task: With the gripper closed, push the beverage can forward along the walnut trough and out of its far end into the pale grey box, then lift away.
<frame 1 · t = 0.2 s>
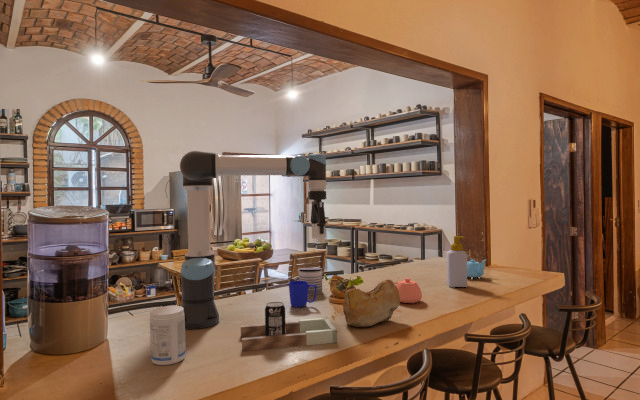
hand: (318, 240, 182), 28 cm above the bar counter, fingers open, 13 cm apart
sugar bowl: (405, 301, 186), on the bar counter
rough brown rock: (367, 321, 159), on the bar counter
beverage can: (275, 341, 139), on the bar counter
teapot: (472, 278, 234), on the bar counter
supplement tub: (168, 360, 124), on the bar counter
trough: (272, 340, 139), on the bar counter
soap bottle: (457, 286, 215), on the bar counter
mug: (303, 306, 181), on the bar counter
can: (310, 292, 206), on the bar counter
pale grey box: (317, 336, 142), on the bar counter
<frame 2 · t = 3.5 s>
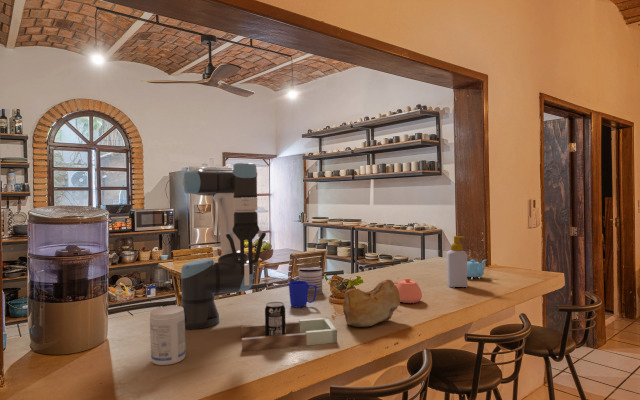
hand: (246, 284, 137), 19 cm above the bar counter, fingers closed
nothing on the bar counter moved.
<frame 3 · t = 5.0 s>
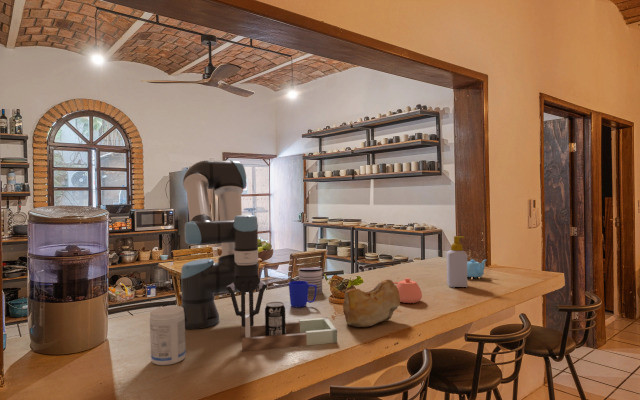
hand: (247, 336, 137), 2 cm above the bar counter, fingers closed
nothing on the bar counter moved.
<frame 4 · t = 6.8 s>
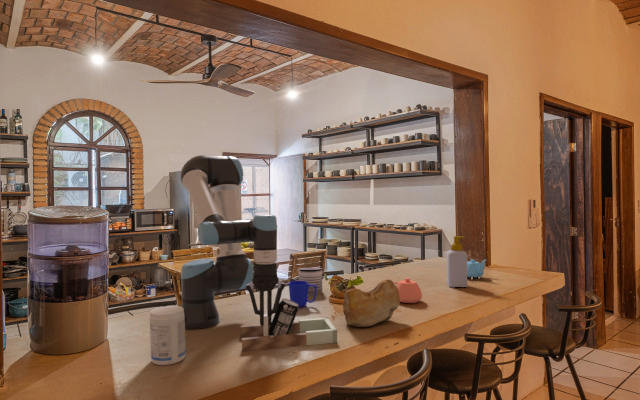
hand: (265, 335, 138), 2 cm above the bar counter, fingers closed
beverage can: (276, 337, 139), point 1 cm above the bar counter, touching gripper, hand
everything else where it was.
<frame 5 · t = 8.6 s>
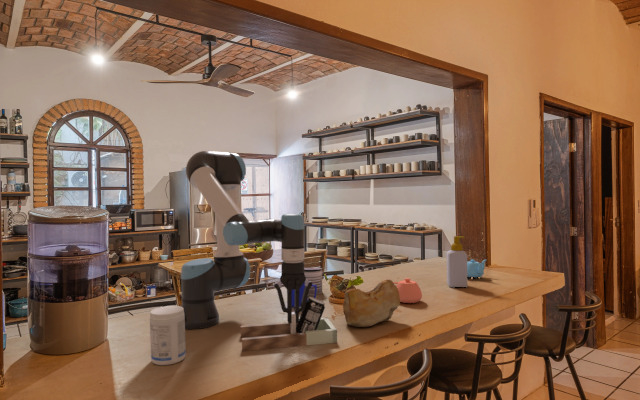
hand: (293, 332, 140), 2 cm above the bar counter, fingers closed
beverage can: (303, 335, 141), point 1 cm above the bar counter, touching gripper, hand
everything else where it was.
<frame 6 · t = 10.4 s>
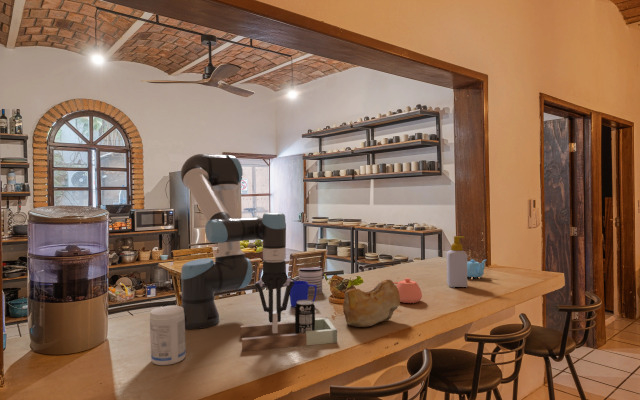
hand: (274, 331, 139), 3 cm above the bar counter, fingers closed
beverage can: (305, 338, 141), on the bar counter
everything else where it was.
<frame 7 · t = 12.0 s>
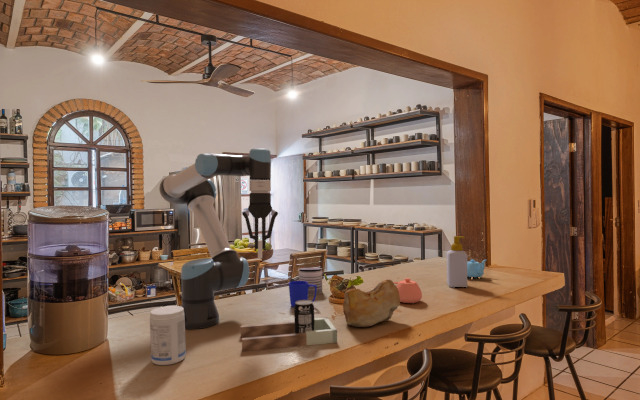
hand: (260, 257, 153), 25 cm above the bar counter, fingers closed
nothing on the bar counter moved.
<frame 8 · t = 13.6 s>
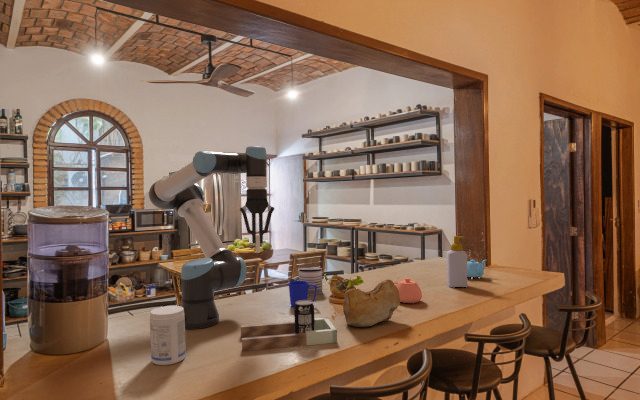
hand: (257, 252, 157), 26 cm above the bar counter, fingers closed
nothing on the bar counter moved.
at the end: beverage can inside the target area (4.1 cm from its centre), on the bar counter; beverage can tilted 1° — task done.
